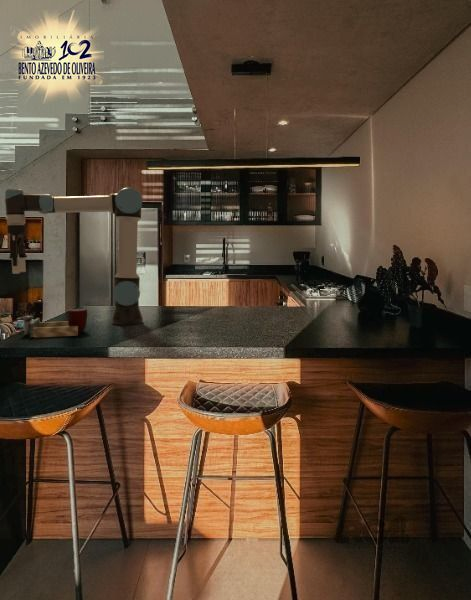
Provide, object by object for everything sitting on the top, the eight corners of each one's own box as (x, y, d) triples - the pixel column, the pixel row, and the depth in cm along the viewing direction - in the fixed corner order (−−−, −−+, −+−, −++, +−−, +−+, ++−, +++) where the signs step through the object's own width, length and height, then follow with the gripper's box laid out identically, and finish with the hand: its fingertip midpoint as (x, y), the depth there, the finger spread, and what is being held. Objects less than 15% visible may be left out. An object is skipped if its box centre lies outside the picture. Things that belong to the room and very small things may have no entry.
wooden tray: (81, 329, 229) (80, 316, 228) (77, 335, 213) (77, 321, 212) (37, 331, 225) (36, 318, 224) (30, 337, 209) (29, 323, 208)
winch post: (34, 333, 219) (33, 315, 218) (33, 335, 215) (32, 317, 214) (24, 333, 218) (23, 316, 217) (22, 335, 214) (21, 317, 213)
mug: (80, 334, 215) (79, 312, 214) (62, 334, 216) (61, 311, 215) (91, 330, 225) (90, 308, 224) (74, 330, 227) (73, 308, 226)
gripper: (13, 226, 230) (16, 271, 232) (-1, 223, 205) (3, 274, 208) (30, 225, 231) (33, 271, 233) (19, 223, 207) (22, 274, 209)
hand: (19, 272), depth 221 cm, fingers open, 13 cm apart
